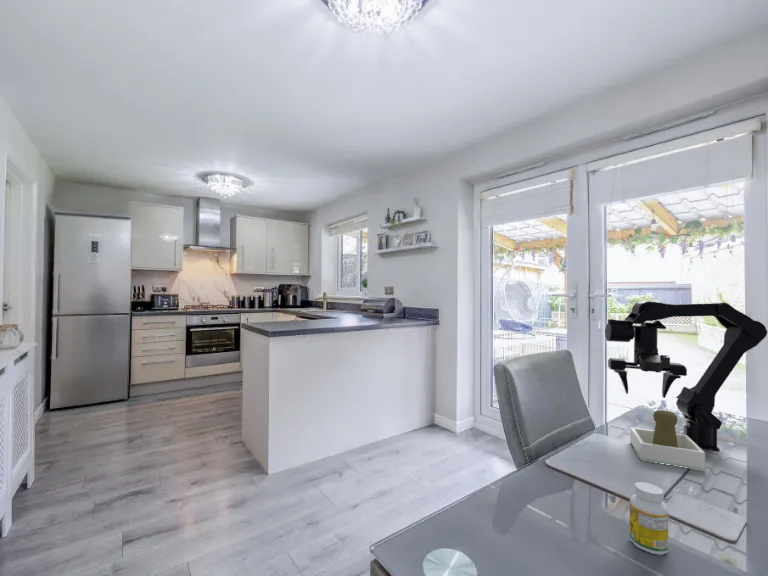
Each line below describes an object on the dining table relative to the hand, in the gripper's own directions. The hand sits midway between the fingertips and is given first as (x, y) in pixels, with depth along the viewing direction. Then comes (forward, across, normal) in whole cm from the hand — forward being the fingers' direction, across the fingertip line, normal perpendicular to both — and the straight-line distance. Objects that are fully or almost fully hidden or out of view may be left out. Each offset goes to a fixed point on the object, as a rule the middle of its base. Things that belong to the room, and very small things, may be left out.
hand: (645, 395), depth 112 cm
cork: (+12, +2, -12) cm, 17 cm away
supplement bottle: (+13, -11, -58) cm, 60 cm away
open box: (+13, +2, -12) cm, 18 cm away
